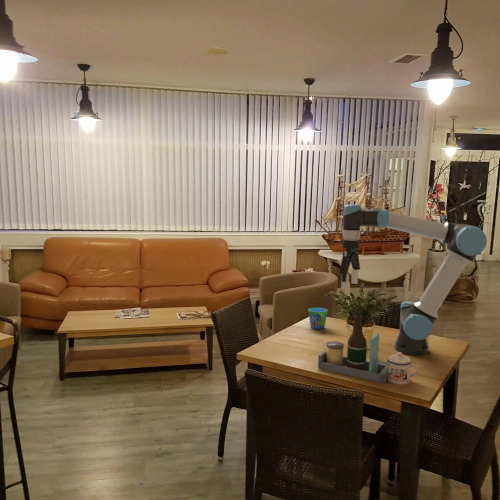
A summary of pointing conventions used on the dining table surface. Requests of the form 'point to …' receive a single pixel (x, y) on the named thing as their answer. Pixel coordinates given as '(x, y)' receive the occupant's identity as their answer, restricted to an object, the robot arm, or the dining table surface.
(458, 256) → the robot arm
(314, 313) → the snack cup
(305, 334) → the dining table surface
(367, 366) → the tray
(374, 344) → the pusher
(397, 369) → the teacup with lid
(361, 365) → the beer bottle
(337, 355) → the jar
